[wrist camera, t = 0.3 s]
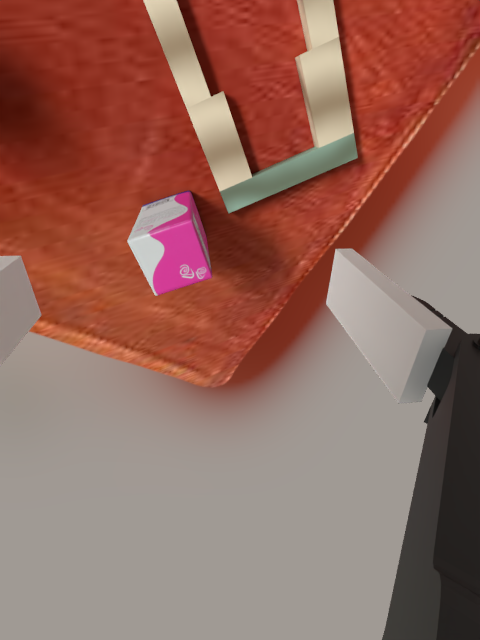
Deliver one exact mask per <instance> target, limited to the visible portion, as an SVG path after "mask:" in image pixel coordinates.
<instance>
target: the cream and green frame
mask: <svg viewBox="0 0 480 640" xmlns="http://www.w3.org/2000/svg"><path fill="white" fill-rule="evenodd" d="M143 1H144V3H145V6H146V8H147V11H148V13H149V16H150V18H151V21H152V23H153V26H154V28H155V31H156V33H157V36H158V38H159V41H160V43H161V46H162V48H163V51H164V53H165V56H166V58H167V61H168V63H169V66H170V68H171V71H172V73H173V76H174V78H175V81H176V83H177V86H178V88H179V91H180V93H181V96H182V98H183V101H184V103H185V106H186V108H187V111H188V113H189V116H190V118H191V121H192V123H193V126H194V128H195V131H196V133H197V136H198V138H199V141H200V143H201V146H202V148H203V151H204V153H205V156H206V158H207V161H208V163H209V166H210V168H211V171H212V173H213V176H214V178H215V181H216V183H217V186H218V188H219V191H220V193H221V196H222V198H223V201H224V203H225V206H226V208H227V211H228V213H231V212H233V211H236V210H238V209H240V208H243V207H245V206H247V205H250V204H252V203H254V202H257V201H259V200H261V199H263V198H266V197H268V196H270V195H273V194H275V193H277V192H280V191H282V190H284V189H287V188H289V187H291V186H294V185H296V184H298V183H301V182H303V181H305V180H308V179H310V178H312V177H315V176H317V175H319V174H321V173H324V172H326V171H328V170H331V169H333V168H335V167H338V166H340V165H342V164H345V163H347V162H349V161H352V160H354V159H356V158H358V156H357V149H356V143H355V137H354V130H353V124H352V117H351V111H350V105H349V98H348V92H347V85H346V79H345V73H344V66H343V60H342V53H341V47H340V41H339V34H338V28H337V21H336V15H335V9H334V2H333V0H297V2H298V7H299V12H300V17H301V22H302V27H303V32H304V37H305V42H306V47H307V52H305V53H303V54H301V55H299V56H297V57H296V58H295V60H296V64H297V69H298V73H299V78H300V82H301V87H302V92H303V96H304V101H305V105H306V110H307V114H308V119H309V123H310V128H311V132H312V137H313V141H314V146H315V147H313V148H311V149H309V150H306V151H304V152H302V153H299V154H297V155H295V156H293V157H290V158H288V159H286V160H284V161H281V162H279V163H277V164H274V165H272V166H270V167H268V168H265V169H263V170H261V171H259V172H256V173H254V174H252V175H251V172H250V169H249V166H248V163H247V160H246V157H245V154H244V151H243V148H242V145H241V142H240V139H239V136H238V133H237V130H236V127H235V124H234V121H233V118H232V115H231V112H230V109H229V107H228V104H227V101H226V98H225V95H224V92H220V93H218V94H216V95H214V96H212V97H211V96H210V93H209V90H208V87H207V84H206V82H205V79H204V76H203V73H202V70H201V68H200V65H199V62H198V59H197V56H196V54H195V51H194V48H193V45H192V42H191V40H190V37H189V34H188V31H187V28H186V26H185V23H184V20H183V17H182V14H181V12H180V9H179V6H178V3H177V0H143Z"/></svg>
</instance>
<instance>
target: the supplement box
mask: <svg viewBox="0 0 480 640" xmlns="http://www.w3.org/2000/svg"><path fill="white" fill-rule="evenodd" d="M127 242H128V244H129V246H130V248H131V250H132V252H133V253H134V255H135V257H136V259H137V261H138V263H139V265H140V267H141V269H142V271H143V273H144V274H145V276H146V278H147V280H148V282H149V284H150V286H151V288H152V290H153V292H154V294H155V296H157V295H160V294H163V293H166V292H169V291H172V290H176V289H179V288H182V287H185V286H188V285H191V284H194V283H197V282H200V281H204V280H207V279H210V278H212V270H211V264H210V257H209V251H208V244H207V237H206V234H205V231H204V228H203V225H202V222H201V219H200V216H199V213H198V210H197V207H196V205H195V202H194V199H193V196H192V193H191V192H190V191H185V192H182V193H179V194H176V195H172V196H169V197H166V198H163V199H160V200H157V201H154V202H152V203H149V204H146V205H143V206H142V209H141V211H140V214H139V216H138V218H137V220H136V223H135V225H134V227H133V230H132V232H131V234H130V236H129V239H128V241H127Z"/></svg>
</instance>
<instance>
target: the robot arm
mask: <svg viewBox="0 0 480 640" xmlns="http://www.w3.org/2000/svg"><path fill="white" fill-rule="evenodd" d="M326 304H327V306H328V307H329V308H330V310H331V311H332V313H333V314H334V315H335V317H336V318H337V320H338V321H339V322H340V324H341V325H342V326H343V328H344V329H345V330H346V332H347V333H348V335H349V336H350V337H351V339H352V340H353V342H354V343H355V344H356V346H357V347H358V348H359V350H360V351H361V353H362V354H363V355H364V357H365V358H366V359H367V361H368V362H369V364H370V365H371V366H372V368H373V369H374V371H375V372H376V373H377V375H378V376H379V377H380V379H381V380H382V381H383V383H384V384H385V385H386V387H387V388H388V390H389V391H390V393H391V394H392V395H393V397H394V398H395V399H396V401H397V402H398V404H399V403H412V402H421V401H422V399H423V396H424V394H425V392H426V389H427V387H428V388H429V389H430V390H431V391H432V392H433V393H434V394H435V398H434V401H433V403H432V405H431V407H430V409H429V412H428V414H427V416H426V418H425V421H424V422H425V423H427V429H426V434H425V439H424V444H423V449H422V453H421V458H420V463H419V468H418V473H417V478H416V482H415V488H414V492H413V497H412V502H411V507H410V511H409V516H408V521H407V526H406V531H405V536H404V540H403V545H402V550H401V555H400V560H399V565H398V569H397V574H396V579H395V584H394V589H393V594H392V599H391V604H390V608H389V613H388V618H387V622H386V627H385V631H384V635H383V638H382V640H480V334H467V333H466V332H464V331H463V330H462V329H460V328H459V327H458V326H456V325H455V324H454V323H453V322H451V321H450V320H449V319H447V318H446V317H443V315H442V314H441V313H440V312H438V311H435V309H434V308H433V307H432V306H431V305H429V304H428V303H426V302H425V301H423V300H421V299H419V298H416V297H414V296H411V295H410V294H408V293H407V292H406V291H405V290H403V289H402V288H401V287H399V286H398V285H397V284H396V283H395V282H393V281H392V280H391V279H390V278H388V277H387V276H386V275H385V274H383V273H382V272H381V271H379V270H378V269H377V268H376V267H375V266H373V265H372V264H371V263H369V262H368V261H367V260H366V259H364V258H363V257H362V256H361V255H359V254H358V253H357V252H356V251H354V250H353V249H336V250H335V256H334V262H333V267H332V273H331V279H330V284H329V290H328V296H327V302H326ZM40 317H41V312H40V310H39V307H38V304H37V301H36V298H35V295H34V292H33V289H32V287H31V284H30V281H29V278H28V275H27V272H26V269H25V266H24V264H23V261H22V258H21V256H0V366H1V365H2V364H3V362H4V361H5V360H6V359H7V357H8V356H9V355H10V354H11V352H12V351H13V350H14V349H15V347H16V346H17V345H18V344H19V342H20V341H21V340H22V339H23V338H24V336H25V335H26V334H27V333H28V331H29V330H30V329H31V328H32V326H33V325H34V324H35V323H36V321H37V320H38V319H39V318H40Z"/></svg>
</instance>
